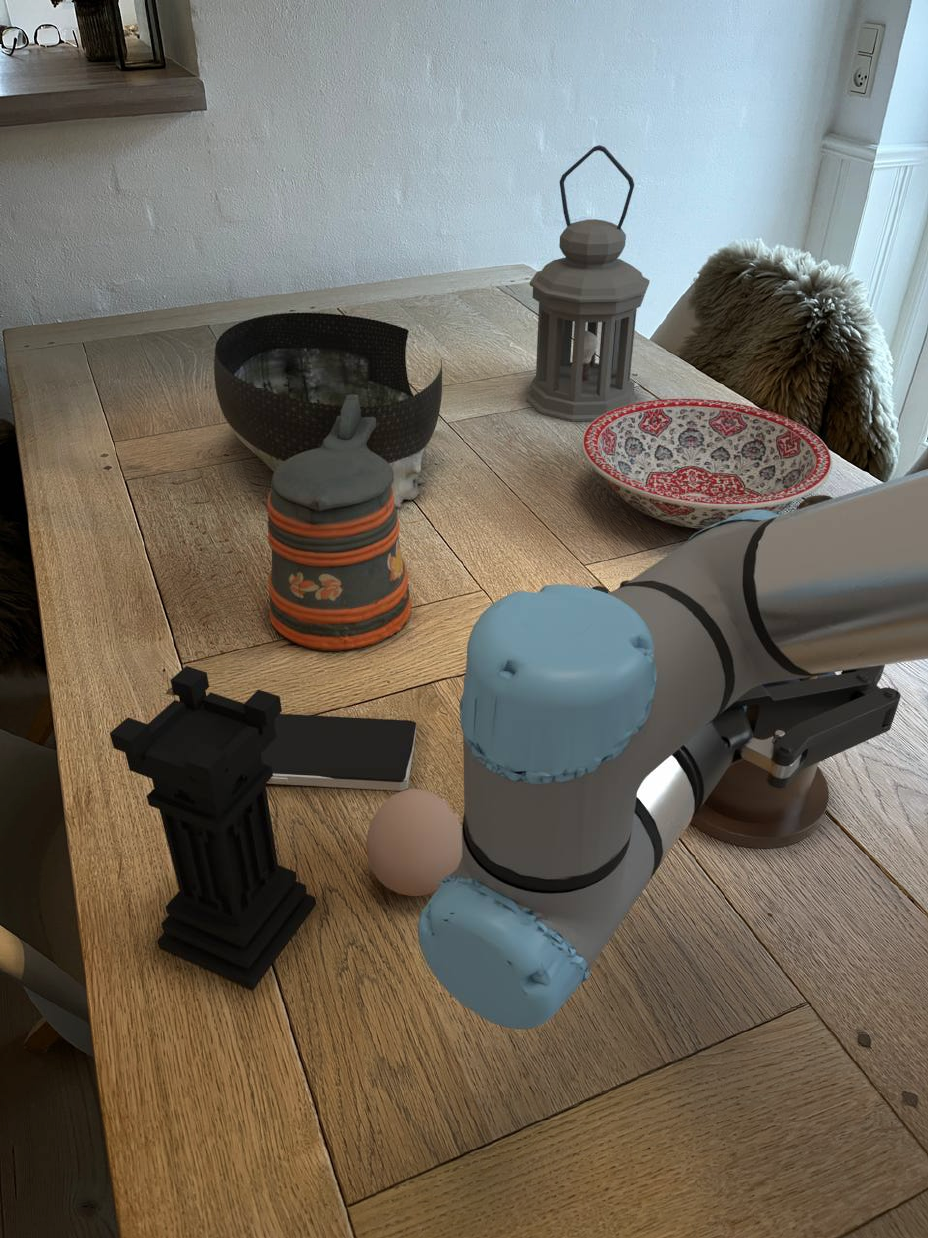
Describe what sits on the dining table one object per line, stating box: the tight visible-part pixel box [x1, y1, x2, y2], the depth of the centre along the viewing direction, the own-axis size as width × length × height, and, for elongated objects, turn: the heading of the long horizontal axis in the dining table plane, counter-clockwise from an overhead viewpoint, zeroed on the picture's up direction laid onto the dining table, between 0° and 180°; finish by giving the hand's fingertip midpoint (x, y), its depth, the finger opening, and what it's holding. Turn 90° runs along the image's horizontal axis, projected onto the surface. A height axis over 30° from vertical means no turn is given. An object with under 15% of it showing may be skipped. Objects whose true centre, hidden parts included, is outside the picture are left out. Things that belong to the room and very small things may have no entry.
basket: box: [213, 312, 443, 509], centre depth 129 cm, size 28×35×16 cm
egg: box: [365, 788, 462, 897], centre depth 73 cm, size 7×7×8 cm
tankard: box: [267, 394, 412, 652], centre depth 101 cm, size 19×15×20 cm
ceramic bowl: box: [581, 398, 833, 530], centre depth 121 cm, size 29×29×8 cm
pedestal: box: [690, 672, 837, 849], centre depth 80 cm, size 13×13×12 cm
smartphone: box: [261, 713, 417, 792], centre depth 87 cm, size 8×1×15 cm
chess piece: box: [109, 665, 317, 991], centre depth 67 cm, size 8×8×20 cm
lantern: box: [525, 144, 650, 423], centre depth 141 cm, size 17×17×35 cm
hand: (776, 596), depth 69 cm, fingers open, 13 cm apart
